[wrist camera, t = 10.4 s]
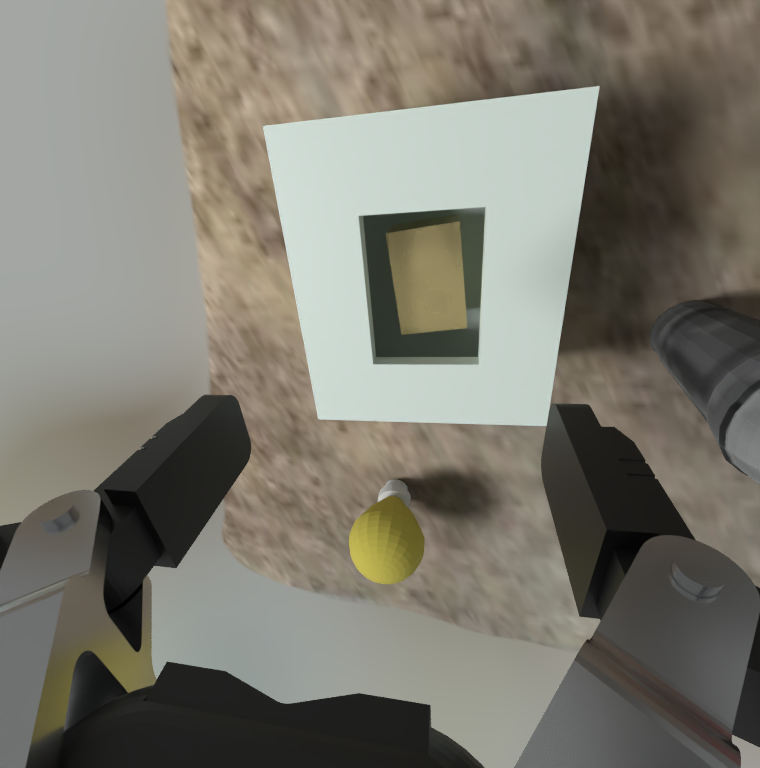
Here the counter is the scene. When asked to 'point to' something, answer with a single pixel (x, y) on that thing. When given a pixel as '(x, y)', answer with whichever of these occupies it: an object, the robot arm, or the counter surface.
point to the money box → (479, 252)
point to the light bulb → (387, 537)
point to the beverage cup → (717, 373)
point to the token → (428, 274)
